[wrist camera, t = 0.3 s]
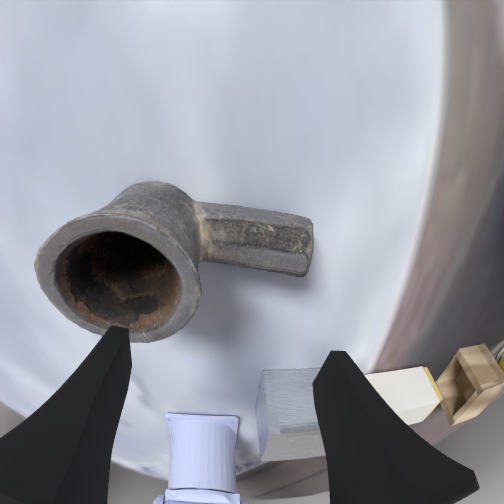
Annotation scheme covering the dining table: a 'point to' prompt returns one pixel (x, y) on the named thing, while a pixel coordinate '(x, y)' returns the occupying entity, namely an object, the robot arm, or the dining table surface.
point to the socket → (469, 383)
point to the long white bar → (407, 392)
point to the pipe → (160, 257)
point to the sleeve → (288, 415)
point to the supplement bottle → (501, 359)
